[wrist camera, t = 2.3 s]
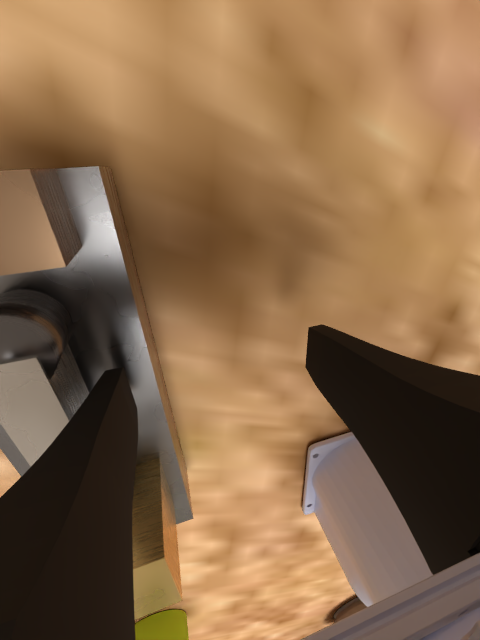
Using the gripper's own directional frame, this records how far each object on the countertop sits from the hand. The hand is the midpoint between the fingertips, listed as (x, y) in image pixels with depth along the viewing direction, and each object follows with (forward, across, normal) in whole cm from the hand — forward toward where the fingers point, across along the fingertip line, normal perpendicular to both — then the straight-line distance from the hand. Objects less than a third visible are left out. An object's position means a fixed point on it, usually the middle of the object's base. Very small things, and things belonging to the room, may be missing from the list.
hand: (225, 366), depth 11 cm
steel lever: (0, +6, 0) cm, 6 cm away
